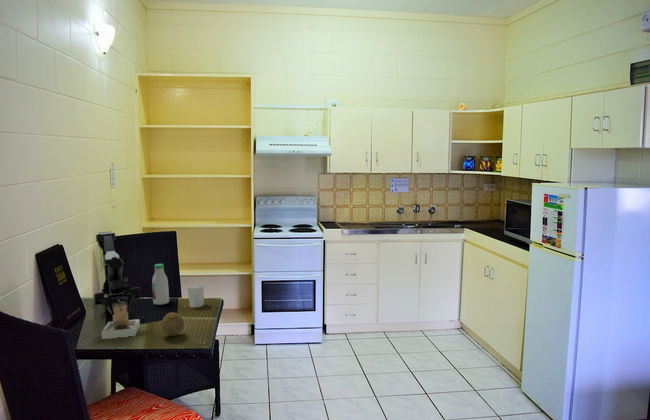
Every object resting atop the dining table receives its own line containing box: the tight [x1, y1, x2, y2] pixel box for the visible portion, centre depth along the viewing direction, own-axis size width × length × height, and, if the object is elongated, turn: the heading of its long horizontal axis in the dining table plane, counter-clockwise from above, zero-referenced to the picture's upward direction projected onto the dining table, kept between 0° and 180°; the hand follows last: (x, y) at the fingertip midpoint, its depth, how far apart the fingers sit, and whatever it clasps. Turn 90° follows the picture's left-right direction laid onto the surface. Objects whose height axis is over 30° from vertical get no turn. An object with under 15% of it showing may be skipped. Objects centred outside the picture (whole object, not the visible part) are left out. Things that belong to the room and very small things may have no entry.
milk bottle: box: [151, 263, 170, 306], centre depth 255 cm, size 8×8×20 cm
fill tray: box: [101, 319, 141, 340], centre depth 215 cm, size 13×13×3 cm
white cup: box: [186, 283, 205, 309], centre depth 250 cm, size 8×8×10 cm
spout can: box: [112, 300, 129, 330], centre depth 213 cm, size 8×6×11 cm
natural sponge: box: [160, 312, 185, 337], centre depth 209 cm, size 9×9×10 cm
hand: (120, 313), depth 213 cm, fingers closed on spout can, 6 cm apart
